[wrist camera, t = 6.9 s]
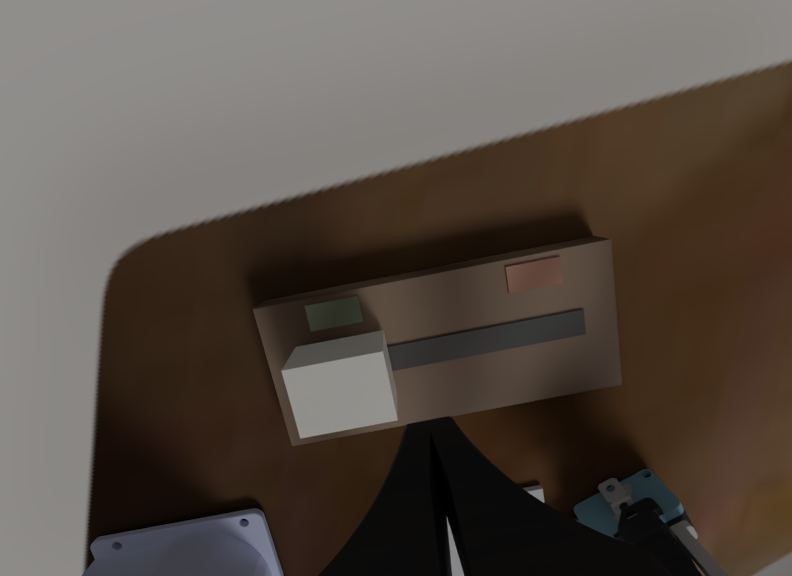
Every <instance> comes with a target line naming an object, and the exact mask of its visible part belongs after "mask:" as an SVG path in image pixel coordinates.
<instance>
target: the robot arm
mask: <svg viewBox="0 0 792 576" xmlns="http://www.w3.org/2000/svg"><path fill="white" fill-rule="evenodd" d="M447 518H448V522H449V525H450V529H451V532H452V536H453V539H454V542H455V546H456V549H457V553H458V556H459V559H460V563H461V566H462V570H463V573H464V576H673V575H672V574H671V573H670V572H669V571H668V570H667V569H666V568H665V567H664V565H663V564H662V563H661V562H660V561H659V560H658V559H657V558H656V557H655V556H654V555H653V554H652V553H651V552H648V551H646V550H643V549H641V548H638V547H636V546H633V545H631V544H628V543H625V542H623V541H620V540H618V539H615V538H613V537H610V536H608V535H605V534H603V533H601V532H598V531H596V530H594V529H592V528H590V527H588V526H586V525H584V524H582V523H579V522H577V521H575V520H573V519H572V518H570V517H568V516H566V515H564V514H562V513H561V512H559V511H557V510H555V509H554V508H552V507H550V506H549V505H547V504H545V503H543V502H542V501H540V500H539V499H537V498H536V497H534V496H533V495H531V494H530V493H528V492H527V491H526V490H524V489H523V488H521V487H520V486H519V485H517V484H516V483H515V482H513V481H512V480H511V479H510V478H508V477H507V476H506V475H505V474H504V473H502V472H501V471H500V470H499V469H498V468H497V467H496V466H494V465H493V464H492V463H491V462H490V461H489V460H488V459H487V458H486V457H485V456H484V455H483V454H482V453H481V452H480V451H479V450H478V449H477V448H476V447H475V446H474V445H473V444H472V443H471V442H470V440H469V439H468V438H467V437H466V436H465V435H464V433H463V432H462V431H461V430H460V428H459V427H458V426H457V424H456V423H455V421H454V419H452V418H451V417H450V416H447V417H441V418H436V419H431V420H425V421H420V422H415V423H410V424H407V425H406V426H405V428H404V432H403V436H402V439H401V443H400V446H399V448H398V451H397V454H396V456H395V459H394V461H393V464H392V466H391V469H390V471H389V473H388V475H387V477H386V479H385V481H384V483H383V485H382V487H381V489H380V491H379V493H378V495H377V497H376V499H375V501H374V502H373V504H372V506H371V507H370V509H369V511H368V512H367V514H366V515H365V517H364V519H363V520H362V522H361V523H360V525H359V526H358V527H357V529H356V530H355V532H354V533H353V534H352V536H351V537H350V539H349V540H348V541H347V543H346V544H345V545H344V547H343V548H342V549H341V550H340V552H339V553H338V554H337V555H336V556H335V558H334V559H333V560H332V561H331V562H330V563H329V564H328V565H327V567H326V568H325V569H324V570H323V571H322V572H321V573H320V574H319V575H318V576H452V568H451V557H450V546H449V535H448V525H447ZM243 519H246V520H248V521H244V520H243ZM120 543H121V544H120ZM90 548H91V552H92V554H93V556H94V558H95V560H94V561H93V563H92V564H91V565H90V566H89V568H88V569H87V570H86V571H85V573H84V574H83V575H82V576H284V575H283V571H282V568H281V565H280V562H279V559H278V556H277V553H276V550H275V546H274V543H273V540H272V537H271V534H270V531H269V528H268V525H267V521H266V518H265V515H264V513H263V512H262V511H261V510H260V509H257V508H253V509H247V510H242V511H236V512H231V513H225V514H220V515H214V516H209V517H203V518H198V519H193V520H187V521H182V522H176V523H171V524H165V525H160V526H154V527H149V528H144V529H138V530H133V531H127V532H122V533H116V534H111V535H105V536H100V537H98V538H96V539H95V541H94V542H93V543H92V544H91V547H90Z"/></svg>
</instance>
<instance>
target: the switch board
mask: <svg viewBox="0 0 792 576" xmlns="http://www.w3.org/2000/svg"><path fill="white" fill-rule="evenodd" d="M253 312H254V315H255V319H256V322H257V326H258V329H259V333H260V336H261V340H262V343H263V347H264V350H265V354H266V357H267V361H268V364H269V368H270V371H271V374H272V378H273V381H274V385H275V388H276V392H277V395H278V399H279V402H280V406H281V409H282V413H283V416H284V420H285V423H286V426H287V430H288V433H289V437H290V440H291V444H292V446H296V445H301V444H307V443H312V442H317V441H323V440H328V439H333V438H339V437H344V436H350V435H355V434H360V433H366V432H371V431H376V430H382V429H387V428H392V427H398V426H403V425H407V424H410V423H415V422H420V421H425V420H431V419H436V418H441V417H447V416H450V417H451V416H457V415H462V414H467V413H473V412H478V411H483V410H489V409H494V408H499V407H505V406H510V405H515V404H521V403H526V402H531V401H537V400H542V399H548V398H553V397H558V396H564V395H569V394H574V393H580V392H585V391H590V390H596V389H601V388H606V387H612V386H617V385H622V380H621V367H620V353H619V339H618V326H617V312H616V299H615V285H614V271H613V258H612V244H611V239H607V238H602V237H597V236H591V237H586V238H580V239H575V240H570V241H565V242H560V243H555V244H550V245H545V246H540V247H535V248H529V249H524V250H519V251H514V252H509V253H504V254H499V255H494V256H489V257H484V258H479V259H473V260H468V261H463V262H458V263H453V264H448V265H443V266H438V267H433V268H428V269H422V270H417V271H412V272H407V273H402V274H397V275H392V276H387V277H382V278H377V279H372V280H366V281H361V282H356V283H351V284H346V285H341V286H336V287H331V288H326V289H321V290H315V291H310V292H305V293H300V294H295V295H290V296H285V297H280V298H275V299H270V300H265V301H262V302H261V303H260V304H259V305H257V306H256V307H255V308H254V309H253ZM381 330H384V334H385V339H386V344H387V348H388V353H389V358H390V363H391V367H392V372H393V377H394V381H395V386H396V391H397V413H398V420H397V421H392V422H386V423H381V424H376V425H370V426H365V427H360V428H354V429H349V430H344V431H338V432H333V433H327V434H322V435H317V436H311V437H306V438H301V439H300V436H299V432H298V428H297V425H296V421H295V418H294V414H293V411H292V407H291V404H290V400H289V396H288V393H287V389H286V386H285V382H284V379H283V375H282V372H281V370H282V369H283V367H284V366H285V364H286V362H287V361H288V359H289V357H290V356H291V354H292V352H293V351H294V349H295V347H299V346H304V345H309V344H314V343H319V342H324V341H330V340H335V339H340V338H345V337H350V336H356V335H361V334H366V333H371V332H376V331H381Z"/></svg>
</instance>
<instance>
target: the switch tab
mask: <svg viewBox="0 0 792 576" xmlns="http://www.w3.org/2000/svg"><path fill="white" fill-rule="evenodd" d="M281 372H282V375H283V379H284V382H285V386H286V389H287V393H288V396H289V400H290V404H291V407H292V411H293V414H294V418H295V421H296V425H297V428H298V432H299V436H300V439H301V438H306V437H311V436H317V435H322V434H327V433H333V432H338V431H344V430H349V429H354V428H360V427H365V426H370V425H376V424H381V423H386V422H392V421H397V420H398V413H397V391H396V386H395V381H394V377H393V372H392V367H391V363H390V358H389V353H388V348H387V344H386V339H385V334H384V330H381V331H376V332H371V333H366V334H361V335H356V336H350V337H345V338H340V339H335V340H330V341H324V342H319V343H314V344H309V345H304V346H299V347H295V349H294V351H293V352H292V354H291V356H290V357H289V359H288V361H287V362H286V364H285V366H284V367H283V369H282V370H281Z"/></svg>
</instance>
